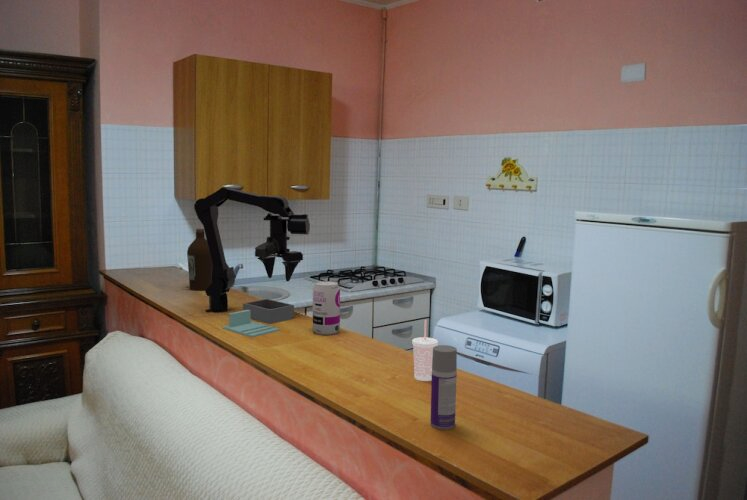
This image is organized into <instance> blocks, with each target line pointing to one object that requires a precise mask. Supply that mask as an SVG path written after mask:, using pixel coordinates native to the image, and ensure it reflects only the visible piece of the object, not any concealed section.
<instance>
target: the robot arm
mask: <svg viewBox="0 0 747 500" xmlns="http://www.w3.org/2000/svg"><path fill="white" fill-rule="evenodd" d="M228 200H229V201H234V202H237V203H242V204H245V205H250V206H254V207H258V208H260V209H262V210H264V211H266V212H268V213H267V215H266V216H265V217H264V218H263V221H269V236H267V237H266V241H265V242H263V243H260V244H259V245H257V246H255V247H254V250H255V251H254V257H257V260H259V261H260V262H262V263H263V266H264V269H265V272H266V275H267V277H268V279H271V278H272V277H273V273H274V267H275V262H276V258H281V259H282V261H281V263H282V265H283V266H284V270H285V271H284V272H285V273H284V274H285V281H286V282H290V280H291V279H292V276H293V274H294V272H295V269H296V268H297V266H298V265H299V263H301V261H304V257H303V256H304V254H303V252H301V251H297V250H293V251H290V250H291V249H290V248H288V241H289V240H290V236H288V232H289V233H290V234H291V235H306V236H307V235H309V233H310V228H311V225H310V219H309V214H307V213H303V214H295V213H294V212H293V209H291V208H290V206H289V201H288V199H287V198H286V197H285V196H282V195H280V196H279V195H262V194H256V193H253V192H248V191H244V190H240V189H239V190H238V189H236V188H232V187H228V186H223V187H220V188H219V189H218V190H216V191H215V192H212V193H211V194H209V195H208V196H206V197H204V198H203V197H202V198H199V199H197V200H195V203H194V204H193V209H194V212H195V214H196V217H197V219H198V220H199V222H200V223H201V225H202V226H203V229H204V236H205V239H206V240H207V244H208V248H209V252H210V257H211V261H212V265H213V267H212V274H211V279H212V284H211V285H210V286H209V287H208V288H207V289H206V290H204V292H205V294H206V297H208V300H209V301H208V302H209V304H208V306H209V307H208V308H207V309H205V312H207V313H214V314H218V313H222V312H223V313H224V312H229V311H231V310H232V309H230V308H229V306H228V305H229V304H228V303H229V302H228V301H229V300H228V294H227V293H229V292H230V289H231V288H232V287H234V285H235V283H236V282H235V281H236V278H237V276H236V274H235V268H234V266H231V267H229V265H228V264H227V261H226V256H225V252H224V248H223V247H224V246H223V244H222V243H223V242H222V240H221V236H220V229H219V226H218V217H219V207H221V206H222V205H224V204H225V203H226V202H227V201H228Z"/></svg>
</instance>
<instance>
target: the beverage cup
mask: <svg viewBox="0 0 747 500" xmlns="http://www.w3.org/2000/svg"><path fill="white" fill-rule="evenodd" d="M427 323H428V321H427V319H424V326H423V327H424V328H423V329H424V332H423V337H420V336H419V337H415V338H413V339H412V340H411V345H413V347H412V348H413V349H412V350H413V368H414V369H413V370H414V371H413V373H414V375H413V376H414V379H416V381H422V382H429V381H432V358H433V347H435V346H438V345H439V341H438V339H436V338H433V337H428V336H427Z"/></svg>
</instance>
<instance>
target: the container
mask: <svg viewBox="0 0 747 500" xmlns="http://www.w3.org/2000/svg"><path fill="white" fill-rule="evenodd" d="M457 352H458V351H457V347H455V346H452V345H447V344H445V345H444V344H442V345H441V344H440V345H439V344H438V345H437V346H435V347H433V358H432V380H430V381H431V384H430V385H431V386H430V389H431V390H430V392H431V393H430V394H431V395H430V425H431V427H433V428H434V429H438V430H443V431H445V430H447V431H448V430H451V429H454V428H455V426H456V405H457V404H456V403H457V367H458V366H457V358H458V357H457V355H458V354H457Z"/></svg>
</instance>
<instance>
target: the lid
mask: <svg viewBox="0 0 747 500" xmlns="http://www.w3.org/2000/svg"><path fill="white" fill-rule="evenodd" d="M222 329H223V330H226V331H230V332H232V333H237V334H239V335H242V336H246V337H250V338H256V337H260V336H264V335H268V334H271V333H275V332H276V333H277V332H280V331H281V329H280V328H278V327H276V326H271V325H270V324H265V323H260V322H256V321H253V320H252V319H251V310H244V311H243V310H240V311H239V310H238V311H234V312H229V313H228V325H224V326H222Z"/></svg>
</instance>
